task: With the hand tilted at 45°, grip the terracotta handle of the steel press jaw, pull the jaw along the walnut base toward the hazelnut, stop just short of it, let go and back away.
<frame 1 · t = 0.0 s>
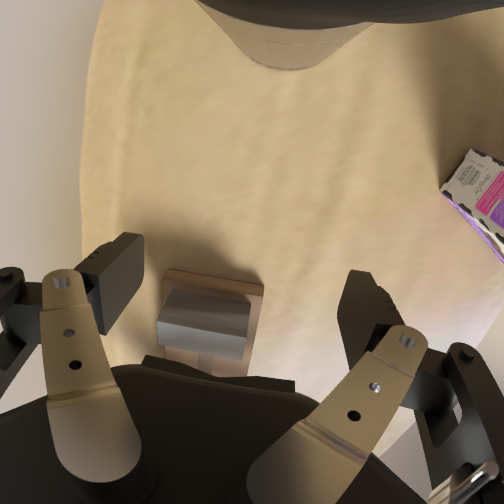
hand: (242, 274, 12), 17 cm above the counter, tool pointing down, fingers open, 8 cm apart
press base: (208, 352, 38), on the counter
candy box: (488, 208, 27), on the counter
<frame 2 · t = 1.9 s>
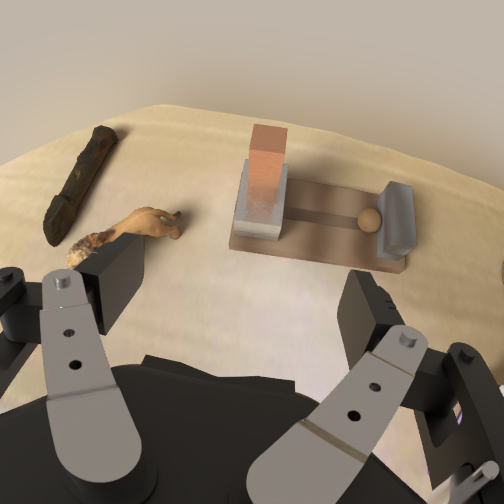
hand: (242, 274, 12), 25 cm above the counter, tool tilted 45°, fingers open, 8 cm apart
press base: (321, 225, 41), on the counter
lion figurine: (136, 255, 39), on the counter
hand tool: (86, 191, 42), on the counter
press jaw: (264, 178, 33), point 9 cm above the counter, slide at 0.0 cm
hazelnut: (360, 232, 41), resting on press base
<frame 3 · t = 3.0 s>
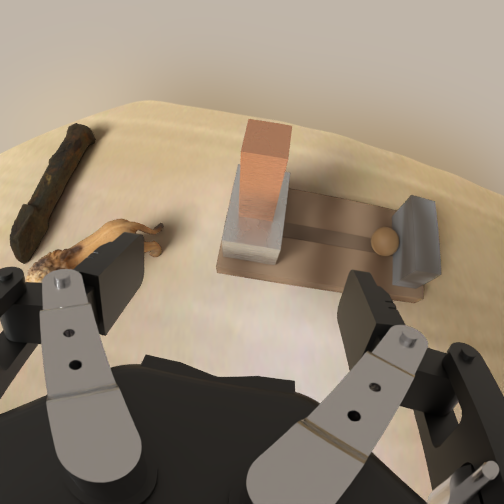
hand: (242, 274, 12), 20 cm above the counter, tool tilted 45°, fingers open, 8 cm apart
press base: (327, 245, 35), on the counter
lion figurine: (110, 274, 32), on the counter
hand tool: (60, 198, 36), on the counter
press jaw: (260, 189, 26), point 9 cm above the counter, slide at 0.0 cm
hazelnut: (372, 253, 35), resting on press base
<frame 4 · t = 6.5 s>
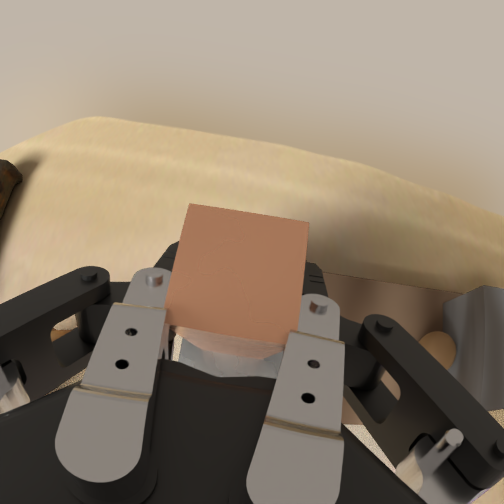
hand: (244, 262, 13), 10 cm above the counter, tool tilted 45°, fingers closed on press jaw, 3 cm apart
press base: (347, 352, 22), on the counter
press jaw: (236, 317, 13), point 9 cm above the counter, slide at 0.0 cm, touching gripper
hazelnut: (410, 357, 22), resting on press base
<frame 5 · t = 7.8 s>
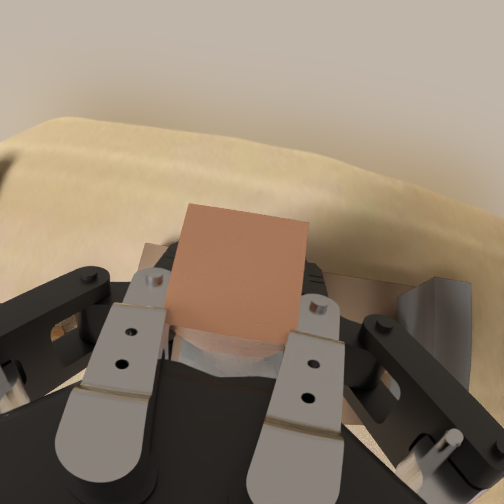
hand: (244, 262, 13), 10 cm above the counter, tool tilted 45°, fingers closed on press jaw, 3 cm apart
press base: (290, 346, 22), on the counter
press jaw: (236, 317, 13), point 9 cm above the counter, slide at 4.2 cm, touching gripper
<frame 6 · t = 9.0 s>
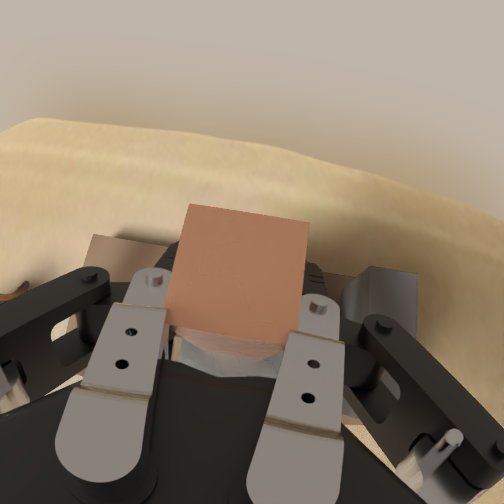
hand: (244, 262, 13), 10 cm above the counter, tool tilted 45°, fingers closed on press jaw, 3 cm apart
press base: (228, 336, 22), on the counter
press jaw: (236, 317, 13), point 9 cm above the counter, slide at 8.5 cm, touching gripper
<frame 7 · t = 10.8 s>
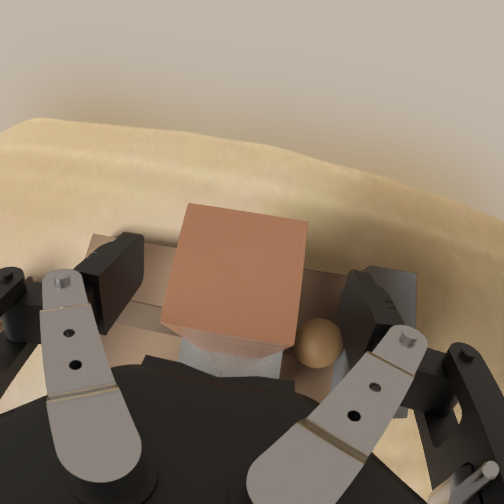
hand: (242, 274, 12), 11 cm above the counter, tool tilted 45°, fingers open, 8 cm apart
press base: (228, 336, 22), on the counter
press jaw: (235, 316, 13), point 9 cm above the counter, slide at 8.5 cm
hazelnut: (305, 347, 22), resting on press base
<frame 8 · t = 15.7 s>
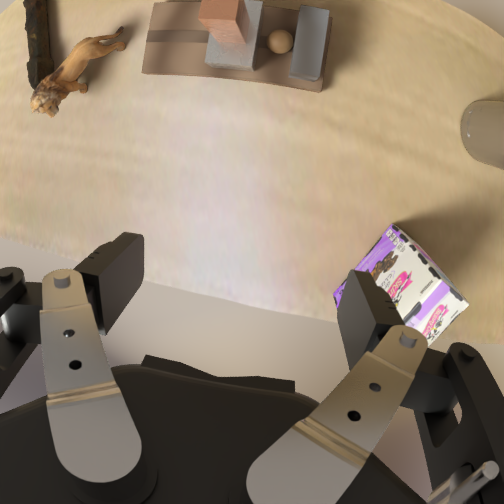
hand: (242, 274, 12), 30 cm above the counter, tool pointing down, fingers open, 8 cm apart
press base: (236, 42, 34), on the counter
candy box: (375, 268, 45), on the counter
lion figurine: (92, 73, 36), on the counter
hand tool: (49, 41, 34), on the counter
press jaw: (230, 24, 26), point 9 cm above the counter, slide at 8.5 cm
hazelnut: (279, 47, 34), resting on press base
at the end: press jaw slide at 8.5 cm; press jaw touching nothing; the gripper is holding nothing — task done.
